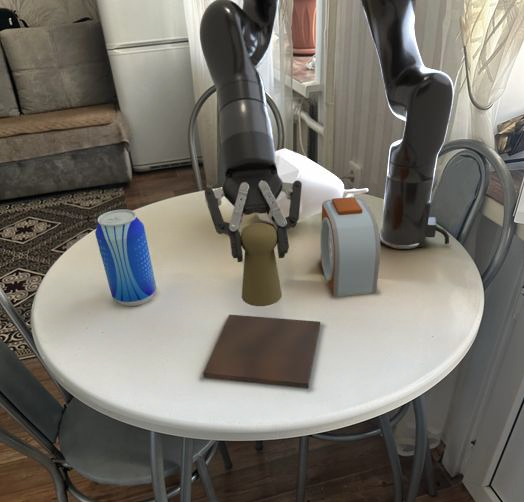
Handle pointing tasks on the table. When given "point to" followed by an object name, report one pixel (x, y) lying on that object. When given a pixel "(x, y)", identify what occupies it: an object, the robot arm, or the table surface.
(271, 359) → the place mat
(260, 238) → the olive game pawn
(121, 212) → the beer can
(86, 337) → the table surface
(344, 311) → the table surface
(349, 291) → the alarm clock
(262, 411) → the table surface
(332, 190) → the pear ornament
